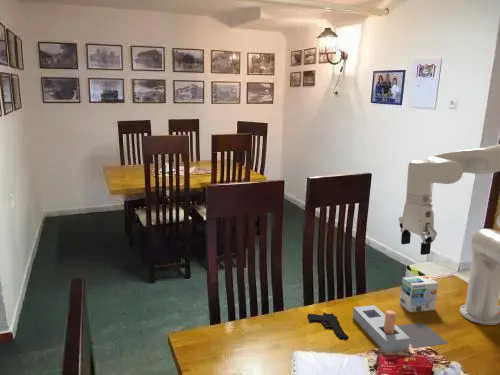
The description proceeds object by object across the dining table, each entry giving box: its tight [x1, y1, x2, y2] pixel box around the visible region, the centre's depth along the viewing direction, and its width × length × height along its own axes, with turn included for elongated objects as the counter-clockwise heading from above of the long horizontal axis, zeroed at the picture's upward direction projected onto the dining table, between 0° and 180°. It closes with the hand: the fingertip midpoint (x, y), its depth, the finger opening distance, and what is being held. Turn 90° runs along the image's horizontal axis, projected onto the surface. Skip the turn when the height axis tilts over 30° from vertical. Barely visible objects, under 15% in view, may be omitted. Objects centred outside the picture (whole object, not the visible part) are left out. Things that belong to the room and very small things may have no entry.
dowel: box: [384, 309, 397, 335], centre depth 121 cm, size 3×3×10 cm
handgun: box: [307, 312, 349, 341], centre depth 130 cm, size 16×1×10 cm
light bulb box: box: [399, 275, 439, 313], centre depth 142 cm, size 11×7×11 cm, turn 102°
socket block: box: [352, 304, 411, 353], centre depth 126 cm, size 8×20×4 cm, turn 14°
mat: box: [397, 322, 449, 349], centre depth 126 cm, size 12×12×1 cm
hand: (414, 248), depth 129 cm, fingers open, 9 cm apart
